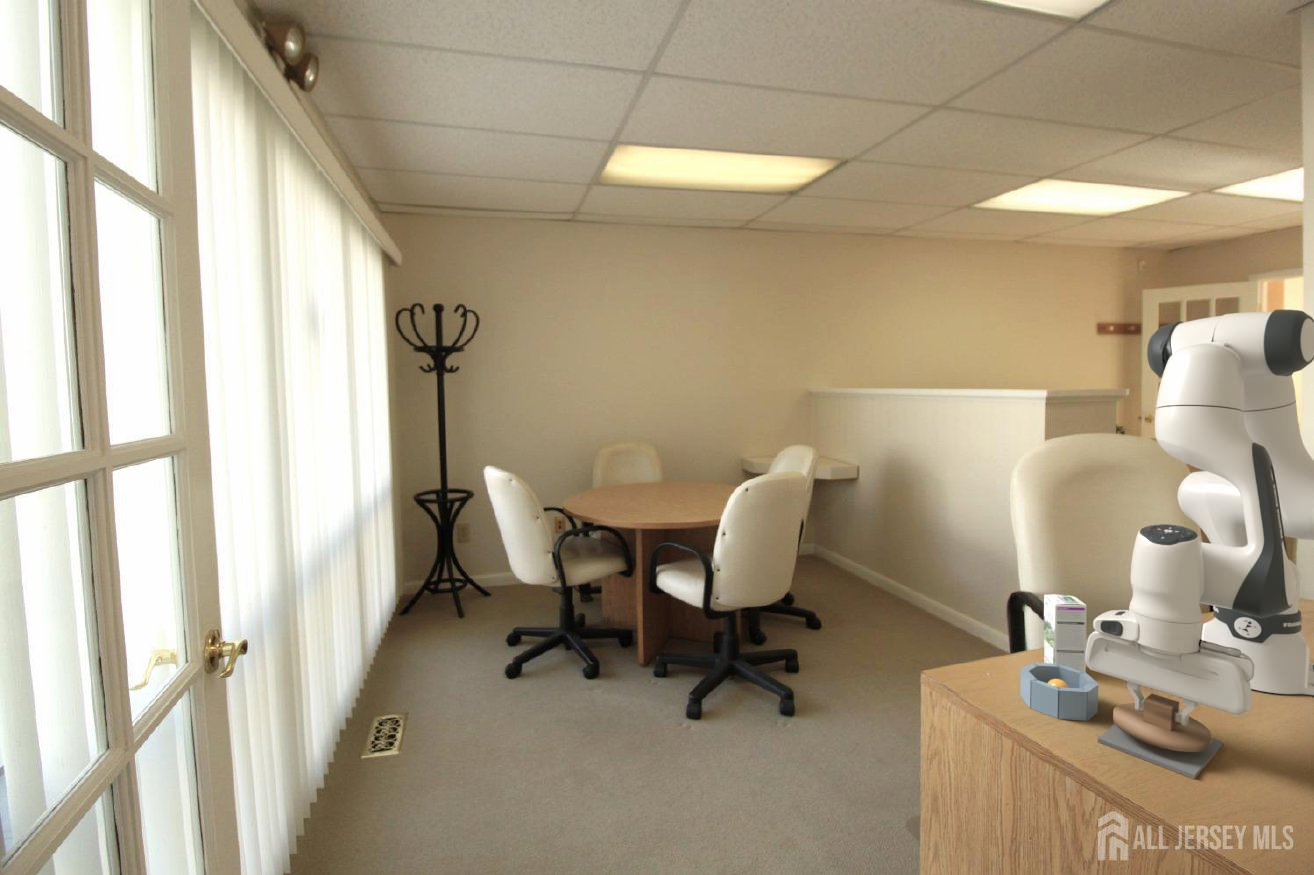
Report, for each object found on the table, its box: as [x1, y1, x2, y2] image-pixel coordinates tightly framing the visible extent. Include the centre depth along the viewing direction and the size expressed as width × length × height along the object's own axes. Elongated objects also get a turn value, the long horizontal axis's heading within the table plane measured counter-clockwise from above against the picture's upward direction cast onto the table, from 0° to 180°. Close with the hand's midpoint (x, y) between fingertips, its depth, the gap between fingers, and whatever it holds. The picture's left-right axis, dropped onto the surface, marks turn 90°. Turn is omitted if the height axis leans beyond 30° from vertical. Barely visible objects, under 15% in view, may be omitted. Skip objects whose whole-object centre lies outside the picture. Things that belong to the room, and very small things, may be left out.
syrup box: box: [1042, 593, 1088, 673], centre depth 124 cm, size 6×6×14 cm
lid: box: [1112, 693, 1213, 752], centre depth 98 cm, size 12×12×5 cm
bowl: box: [1019, 662, 1100, 721], centre depth 111 cm, size 11×11×5 cm
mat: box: [1097, 723, 1224, 780], centre depth 99 cm, size 14×12×1 cm
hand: (1160, 716), depth 98 cm, fingers closed on lid, 3 cm apart
